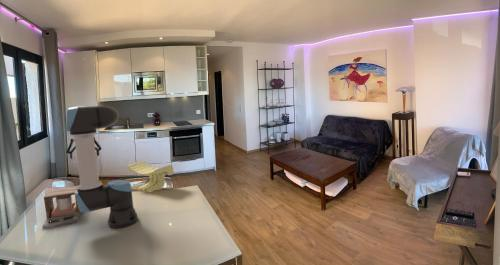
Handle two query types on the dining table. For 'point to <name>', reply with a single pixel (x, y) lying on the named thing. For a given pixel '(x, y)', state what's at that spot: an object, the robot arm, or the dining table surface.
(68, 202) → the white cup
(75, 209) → the sled
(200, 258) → the dining table surface
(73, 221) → the tunnel
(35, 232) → the dining table surface
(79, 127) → the robot arm
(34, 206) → the dining table surface
